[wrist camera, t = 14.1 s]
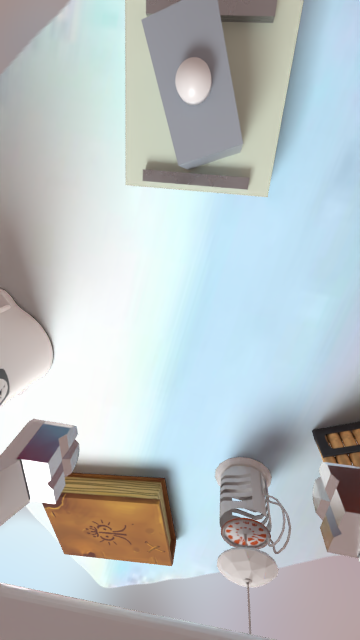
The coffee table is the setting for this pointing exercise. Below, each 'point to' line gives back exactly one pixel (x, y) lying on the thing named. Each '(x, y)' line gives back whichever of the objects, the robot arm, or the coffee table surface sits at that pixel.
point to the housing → (194, 81)
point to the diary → (114, 518)
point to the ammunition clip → (339, 444)
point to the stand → (249, 89)
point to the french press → (246, 523)
